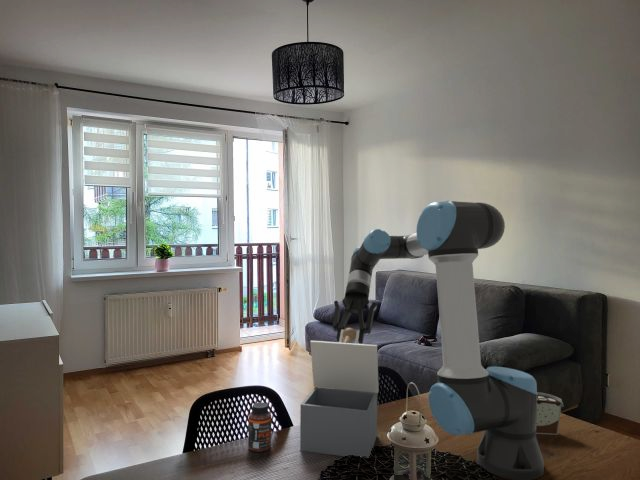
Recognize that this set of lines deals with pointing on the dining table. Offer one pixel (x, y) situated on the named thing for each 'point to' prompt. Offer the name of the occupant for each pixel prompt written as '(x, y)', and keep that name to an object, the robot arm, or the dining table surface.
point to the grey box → (338, 422)
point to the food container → (548, 414)
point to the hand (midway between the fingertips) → (347, 351)
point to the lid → (345, 364)
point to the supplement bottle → (259, 428)
